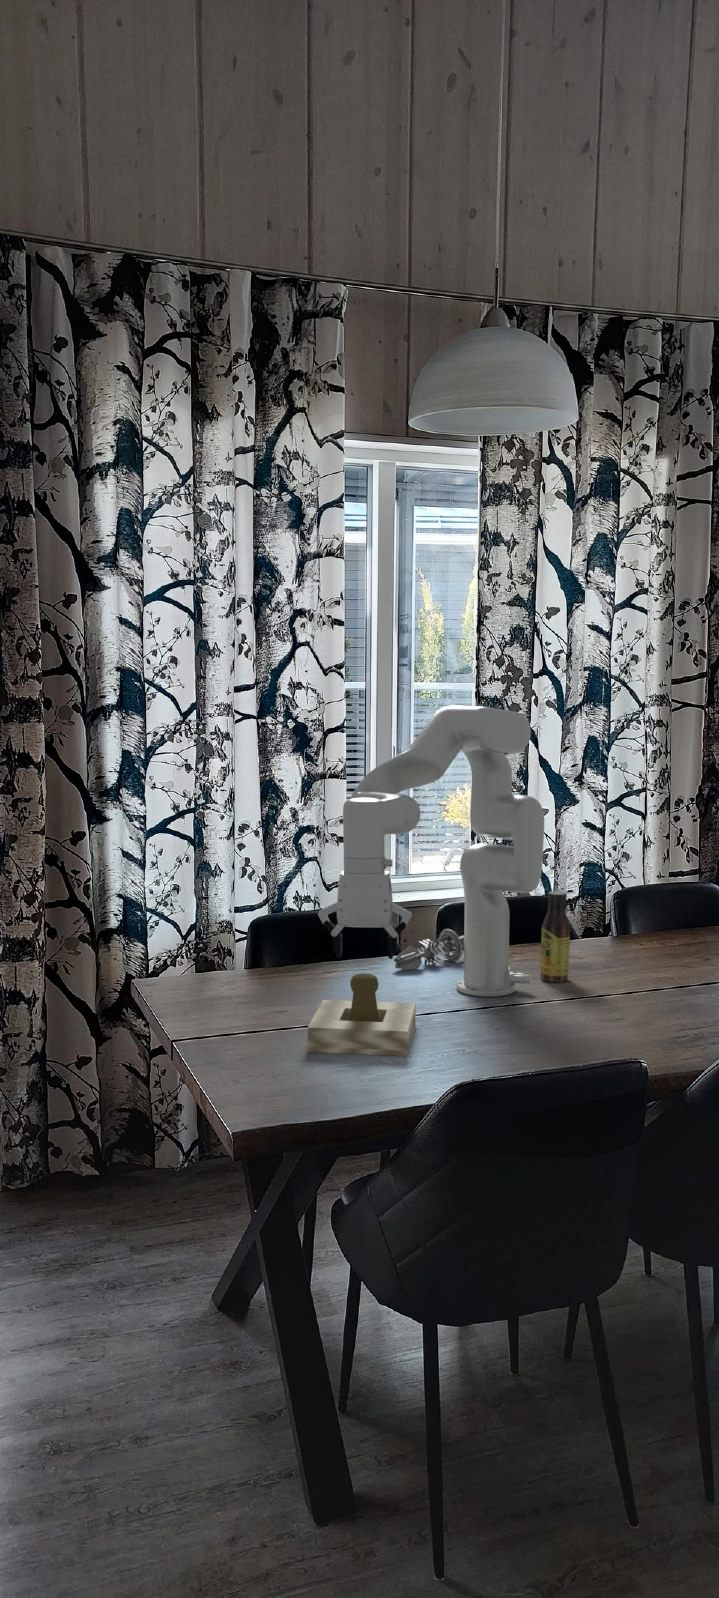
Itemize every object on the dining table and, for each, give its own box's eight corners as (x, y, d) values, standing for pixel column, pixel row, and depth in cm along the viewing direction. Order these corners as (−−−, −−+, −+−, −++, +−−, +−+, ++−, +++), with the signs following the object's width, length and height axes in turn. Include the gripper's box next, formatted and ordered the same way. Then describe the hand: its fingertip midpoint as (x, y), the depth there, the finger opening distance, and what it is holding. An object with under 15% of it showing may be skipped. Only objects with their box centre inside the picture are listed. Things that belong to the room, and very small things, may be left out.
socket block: (415, 1026, 224) (415, 1003, 224) (407, 1056, 206) (407, 1031, 206) (323, 1022, 226) (323, 999, 226) (307, 1052, 209) (307, 1027, 208)
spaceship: (518, 922, 281) (495, 905, 286) (408, 959, 260) (386, 940, 265) (511, 949, 284) (489, 932, 289) (402, 987, 263) (380, 968, 268)
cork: (381, 1028, 219) (381, 971, 218) (379, 1037, 213) (379, 979, 212) (349, 1027, 220) (349, 970, 219) (346, 1036, 214) (346, 978, 213)
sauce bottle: (537, 976, 261) (538, 889, 259) (564, 976, 262) (566, 889, 260) (544, 984, 255) (546, 894, 253) (572, 983, 255) (574, 894, 253)
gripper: (412, 862, 216) (413, 952, 218) (320, 861, 218) (322, 950, 220) (409, 869, 208) (410, 962, 210) (314, 868, 210) (315, 960, 212)
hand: (365, 956), depth 215 cm, fingers open, 9 cm apart
